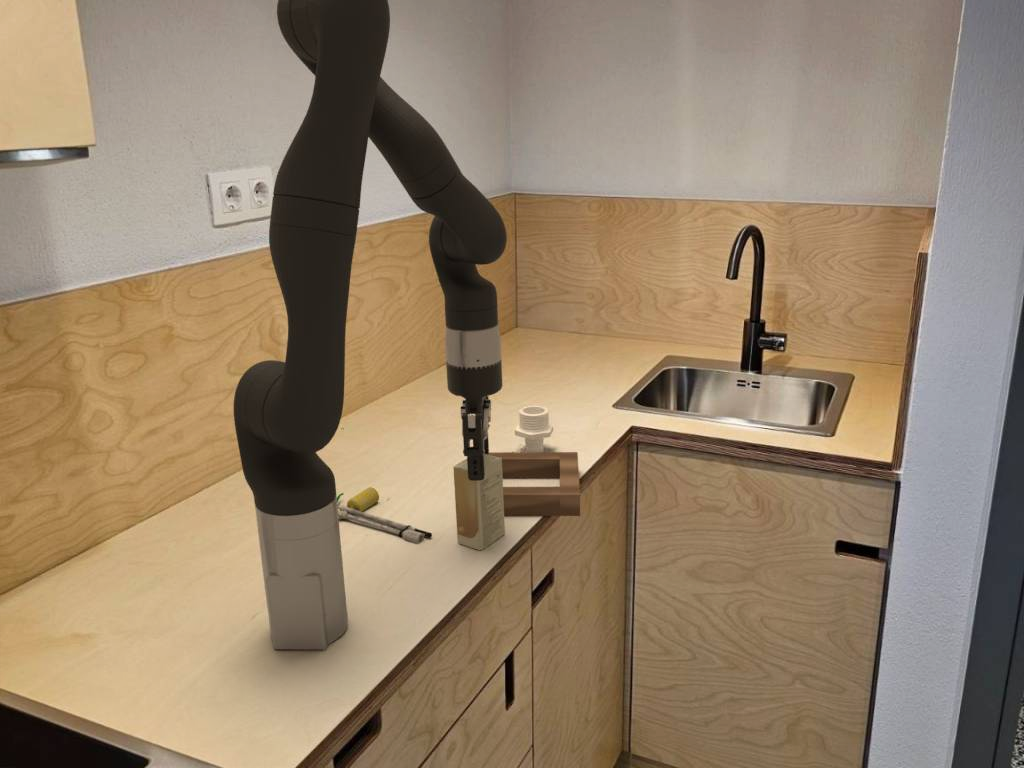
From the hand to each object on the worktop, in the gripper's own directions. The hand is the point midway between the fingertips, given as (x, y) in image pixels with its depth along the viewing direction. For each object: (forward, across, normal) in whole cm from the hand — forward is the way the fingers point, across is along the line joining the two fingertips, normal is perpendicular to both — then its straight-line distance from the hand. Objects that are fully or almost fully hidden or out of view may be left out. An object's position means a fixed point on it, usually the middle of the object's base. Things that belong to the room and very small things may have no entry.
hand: (479, 466), depth 126 cm
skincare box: (+12, 0, 0) cm, 12 cm away
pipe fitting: (+12, +33, -7) cm, 35 cm away
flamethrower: (+12, +8, +20) cm, 24 cm away
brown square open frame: (+12, +16, -6) cm, 20 cm away
